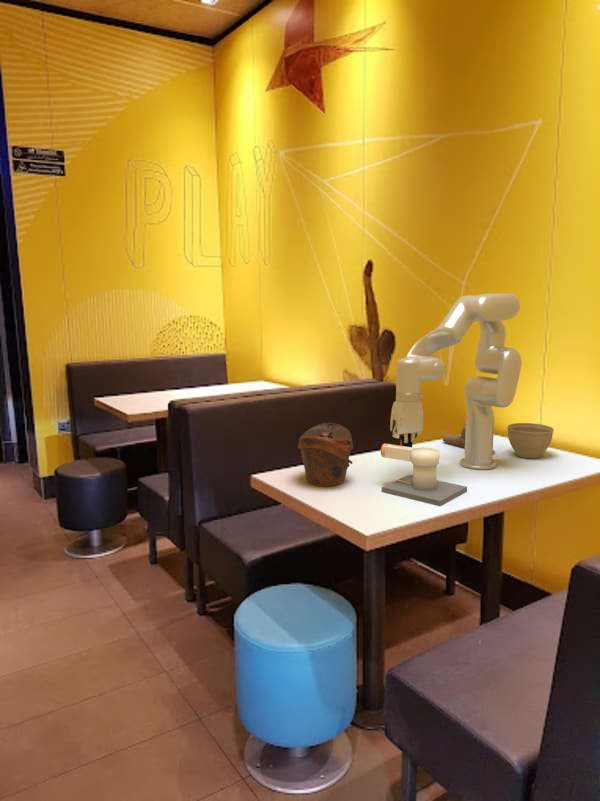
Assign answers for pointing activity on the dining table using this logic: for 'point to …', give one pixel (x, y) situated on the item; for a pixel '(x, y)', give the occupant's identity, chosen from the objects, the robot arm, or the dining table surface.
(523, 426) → the planter bowl
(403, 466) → the dining table surface
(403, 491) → the base
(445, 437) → the pipe
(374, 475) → the dining table surface
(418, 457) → the cream piece
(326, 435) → the brown domed pot
